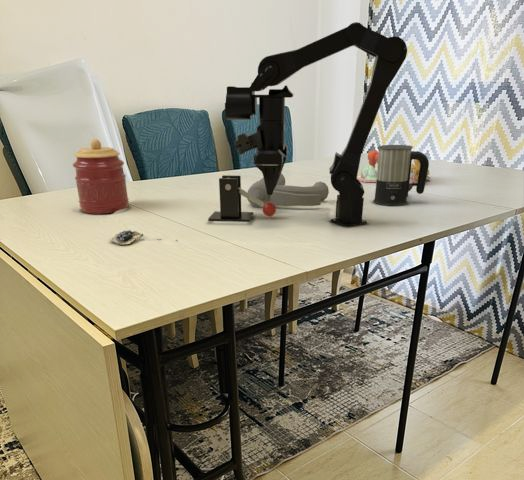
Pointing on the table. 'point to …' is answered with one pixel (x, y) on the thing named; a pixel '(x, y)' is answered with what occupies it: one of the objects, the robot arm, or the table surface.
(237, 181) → the bracket
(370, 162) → the candy landscape model
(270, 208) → the tap lever
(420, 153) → the milk frother
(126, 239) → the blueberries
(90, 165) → the kitchen canister
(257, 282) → the table surface
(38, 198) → the table surface
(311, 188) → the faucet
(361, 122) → the robot arm
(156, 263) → the table surface
